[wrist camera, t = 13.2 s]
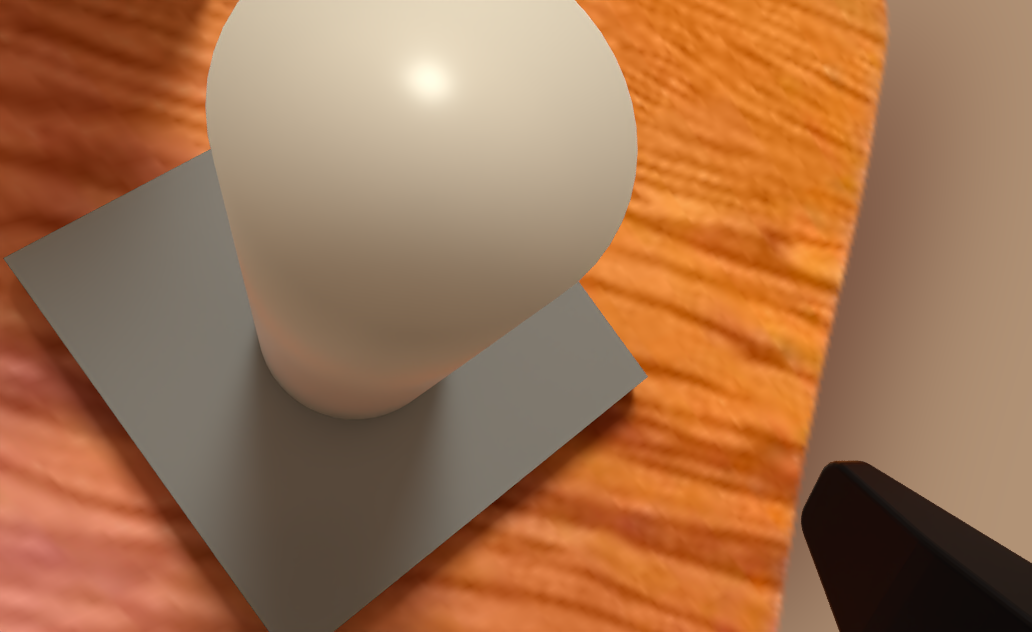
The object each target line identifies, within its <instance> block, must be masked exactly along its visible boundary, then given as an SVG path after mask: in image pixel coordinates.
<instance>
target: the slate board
mask: <svg viewBox="0 0 1032 632" xmlns="http://www.w3.org/2000/svg"><path fill="white" fill-rule="evenodd" d="M3 259H4V260H5V261H6V263H7V264H8V266H9V267H10V268H11V270H12V271H13V273H14V274H15V275H16V277H17V278H18V280H19V281H20V282H21V284H22V285H23V287H24V288H25V290H26V291H27V292H28V294H29V295H30V297H31V298H32V299H33V301H34V302H35V304H36V305H37V306H38V308H39V309H40V311H41V312H42V313H43V315H44V316H45V318H46V319H47V320H48V322H49V323H50V325H51V326H52V327H53V329H54V330H55V332H56V333H57V335H58V336H59V337H60V339H61V340H62V342H63V343H64V344H65V346H66V347H67V349H68V350H69V351H70V353H71V354H72V356H73V357H74V358H75V360H76V361H77V363H78V364H79V365H80V367H81V368H82V370H83V371H84V372H85V374H86V375H87V377H88V378H89V379H90V381H91V382H92V384H93V385H94V387H95V388H96V389H97V391H98V392H99V394H100V395H101V396H102V398H103V399H104V401H105V402H106V403H107V405H108V406H109V408H110V409H111V410H112V412H113V413H114V415H115V416H116V417H117V419H118V420H119V422H120V423H121V424H122V426H123V427H124V429H125V430H126V432H127V433H128V434H129V436H130V437H131V439H132V440H133V441H134V443H135V444H136V446H137V447H138V448H139V450H140V451H141V453H142V454H143V455H144V457H145V458H146V460H147V461H148V462H149V464H150V465H151V467H152V468H153V469H154V471H155V472H156V474H157V475H158V476H159V478H160V479H161V481H162V482H163V484H164V485H165V486H166V488H167V489H168V491H169V492H170V493H171V495H172V496H173V498H174V499H175V500H176V502H177V503H178V505H179V506H180V507H181V509H182V510H183V512H184V513H185V514H186V516H187V517H188V519H189V520H190V521H191V523H192V524H193V526H194V527H195V529H196V530H197V531H198V533H199V534H200V536H201V537H202V538H203V540H204V541H205V543H206V544H207V545H208V547H209V548H210V550H211V551H212V552H213V554H214V555H215V557H216V558H217V559H218V561H219V562H220V564H221V565H222V566H223V568H224V569H225V571H226V572H227V573H228V575H229V576H230V578H231V579H232V581H233V582H234V583H235V585H236V586H237V588H238V589H239V590H240V592H241V593H242V595H243V596H244V597H245V599H246V600H247V602H248V603H249V604H250V606H251V607H252V609H253V610H254V611H255V613H256V614H257V616H258V617H259V618H260V620H261V621H262V623H263V624H264V626H265V627H266V628H267V630H268V631H269V632H334V631H335V630H336V629H338V628H339V627H340V626H341V625H342V624H344V623H345V622H346V621H347V620H349V619H350V618H351V617H352V616H354V615H355V614H356V613H357V612H358V611H360V610H361V609H362V608H363V607H365V606H366V605H367V604H368V603H370V602H371V601H372V600H373V599H374V598H376V597H377V596H378V595H379V594H381V593H382V592H383V591H384V590H386V589H387V588H388V587H389V586H391V585H392V584H393V583H394V582H395V581H397V580H398V579H399V578H400V577H402V576H403V575H404V574H405V573H407V572H408V571H409V570H410V569H411V568H413V567H414V566H415V565H416V564H418V563H419V562H420V561H421V560H423V559H424V558H425V557H426V556H427V555H429V554H430V553H431V552H432V551H434V550H435V549H436V548H437V547H439V546H440V545H441V544H442V543H444V542H445V541H446V540H447V539H448V538H450V537H451V536H452V535H453V534H455V533H456V532H457V531H458V530H460V529H461V528H462V527H463V526H464V525H466V524H467V523H468V522H469V521H471V520H472V519H473V518H474V517H476V516H477V515H478V514H479V513H481V512H482V511H483V510H484V509H485V508H487V507H488V506H489V505H490V504H492V503H493V502H494V501H495V500H497V499H498V498H499V497H500V496H501V495H503V494H504V493H505V492H506V491H508V490H509V489H510V488H511V487H513V486H514V485H515V484H516V483H517V482H519V481H520V480H521V479H522V478H524V477H525V476H526V475H527V474H529V473H530V472H531V471H532V470H534V469H535V468H536V467H537V466H538V465H540V464H541V463H542V462H543V461H545V460H546V459H547V458H548V457H550V456H551V455H552V454H553V453H554V452H556V451H557V450H558V449H559V448H561V447H562V446H563V445H564V444H566V443H567V442H568V441H569V440H570V439H572V438H573V437H574V436H575V435H577V434H578V433H579V432H580V431H582V430H583V429H584V428H585V427H587V426H588V425H589V424H590V423H591V422H593V421H594V420H595V419H596V418H598V417H599V416H600V415H601V414H603V413H604V412H605V411H606V410H607V409H609V408H610V407H611V406H612V405H614V404H615V403H616V402H617V401H619V400H620V399H621V398H622V397H623V396H625V395H626V394H627V393H628V392H630V391H631V390H632V389H633V388H635V387H636V386H637V385H638V384H640V383H641V382H642V381H643V380H644V379H646V378H647V377H648V376H647V375H646V374H645V372H644V371H643V370H642V368H641V367H640V365H639V364H638V363H637V361H636V360H635V359H634V357H633V356H632V354H631V353H630V352H629V350H628V349H627V348H626V346H625V345H624V343H623V342H622V341H621V339H620V338H619V337H618V335H617V334H616V332H615V331H614V330H613V328H612V327H611V326H610V324H609V323H608V321H607V320H606V319H605V317H604V316H603V315H602V313H601V312H600V310H599V309H598V308H597V306H596V305H595V304H594V302H593V301H592V299H591V298H590V297H589V295H588V294H587V293H586V291H585V290H584V288H583V287H582V286H581V284H580V283H579V282H577V283H576V284H575V285H573V286H572V287H571V288H569V289H568V290H567V291H565V292H564V293H563V294H561V295H560V296H559V297H557V298H556V299H555V300H553V301H552V302H550V303H549V304H548V305H546V306H545V307H543V308H542V309H541V310H539V311H538V312H536V313H535V314H533V315H532V316H531V317H529V318H528V319H526V320H525V321H524V322H522V323H521V324H519V325H518V326H517V327H515V328H514V329H512V330H511V331H510V332H508V333H507V334H505V335H504V336H503V337H501V338H500V339H498V340H497V341H496V342H494V343H493V344H491V345H490V346H489V347H487V348H486V349H484V350H483V351H482V352H480V353H479V354H477V355H476V356H475V357H473V358H472V359H470V360H469V361H468V362H466V363H465V364H463V365H462V366H461V367H459V368H458V369H456V370H455V371H453V372H452V373H451V374H449V375H448V376H446V377H445V378H444V379H442V380H441V381H439V382H438V383H437V384H435V385H434V386H432V387H431V388H430V389H428V390H427V391H425V392H424V393H423V394H421V395H420V396H418V397H417V398H416V399H414V400H413V401H411V402H410V403H409V404H407V405H405V406H403V407H402V408H400V409H398V410H396V411H393V412H391V413H388V414H386V415H382V416H379V417H375V418H368V419H341V418H334V417H331V416H327V415H323V414H321V413H318V412H316V411H313V410H311V409H309V408H307V407H306V406H304V405H302V404H301V403H299V402H298V401H296V400H295V399H294V398H293V397H291V396H290V395H289V394H288V393H287V392H286V391H285V390H284V389H283V388H282V387H281V386H280V385H279V384H278V382H277V381H276V380H275V378H274V377H273V376H272V374H271V372H270V370H269V368H268V367H267V365H266V362H265V360H264V357H263V355H262V352H261V348H260V344H259V340H258V336H257V332H256V328H255V324H254V320H253V316H252V312H251V308H250V304H249V300H248V296H247V292H246V288H245V284H244V280H243V276H242V272H241V268H240V264H239V260H238V256H237V252H236V248H235V244H234V240H233V236H232V232H231V228H230V224H229V220H228V216H227V212H226V208H225V204H224V200H223V196H222V192H221V188H220V184H219V180H218V176H217V172H216V168H215V164H214V160H213V156H212V151H211V149H210V150H208V151H206V152H204V153H202V154H200V155H199V156H197V157H195V158H193V159H191V160H189V161H187V162H185V163H183V164H181V165H180V166H178V167H176V168H174V169H172V170H170V171H168V172H166V173H164V174H162V175H161V176H159V177H157V178H155V179H153V180H151V181H149V182H147V183H145V184H143V185H142V186H140V187H138V188H136V189H134V190H132V191H130V192H128V193H126V194H124V195H123V196H121V197H119V198H117V199H115V200H113V201H111V202H109V203H107V204H105V205H104V206H102V207H100V208H98V209H96V210H94V211H92V212H90V213H88V214H86V215H85V216H83V217H81V218H79V219H77V220H75V221H73V222H71V223H69V224H67V225H65V226H64V227H62V228H60V229H58V230H56V231H54V232H52V233H50V234H48V235H46V236H45V237H43V238H41V239H39V240H37V241H35V242H33V243H31V244H29V245H27V246H26V247H24V248H22V249H20V250H18V251H16V252H14V253H12V254H10V255H8V256H7V257H5V258H3Z"/></svg>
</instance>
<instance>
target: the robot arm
mask: <svg viewBox="0 0 1032 632" xmlns="http://www.w3.org/2000/svg"><path fill="white" fill-rule="evenodd" d="M801 525H802V531H803V534H804V537H805V539H806V542H807V545H808V548H809V550H810V553H811V556H812V558H813V561H814V564H815V566H816V569H817V572H818V574H819V577H820V580H821V583H822V585H823V588H824V591H825V594H826V596H827V599H828V602H829V604H830V607H831V610H832V612H833V615H834V618H835V621H836V623H837V626H838V629H839V631H840V632H1032V563H1030V562H1029V561H1027V560H1025V559H1024V558H1022V557H1021V556H1019V555H1017V554H1016V553H1014V552H1012V551H1011V550H1009V549H1007V548H1006V547H1004V546H1003V545H1001V544H999V543H998V542H996V541H994V540H993V539H991V538H989V537H988V536H986V535H984V534H983V533H981V532H979V531H978V530H976V529H975V528H973V527H971V526H970V525H968V524H966V523H965V522H963V521H962V520H960V519H958V518H957V517H955V516H953V515H952V514H950V513H948V512H947V511H945V510H943V509H942V508H940V507H939V506H937V505H935V504H934V503H932V502H930V501H929V500H927V499H925V498H924V497H922V496H921V495H919V494H917V493H916V492H914V491H912V490H911V489H909V488H908V487H906V486H904V485H903V484H901V483H899V482H898V481H896V480H894V479H893V478H891V477H890V476H888V475H886V474H885V473H883V472H881V471H880V470H878V469H876V468H875V467H873V466H871V465H870V464H868V463H865V462H863V461H834V462H830V463H829V464H828V465H826V466H825V467H824V469H823V470H822V472H821V474H820V476H819V478H818V480H817V482H816V484H815V486H814V488H813V490H812V492H811V494H810V496H809V498H808V500H807V502H806V504H805V506H804V508H803V511H802V516H801Z"/></svg>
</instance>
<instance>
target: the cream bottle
mask: <svg viewBox="0 0 1032 632" xmlns="http://www.w3.org/2000/svg"><path fill="white" fill-rule="evenodd" d="M206 119H207V131H208V138H209V143H210V147H211V151H212V156H213V160H214V164H215V168H216V172H217V176H218V180H219V184H220V188H221V192H222V196H223V200H224V204H225V208H226V212H227V216H228V220H229V224H230V228H231V232H232V236H233V240H234V244H235V248H236V252H237V256H238V260H239V264H240V268H241V272H242V276H243V280H244V284H245V288H246V292H247V296H248V300H249V304H250V308H251V312H252V316H253V320H254V324H255V328H256V332H257V336H258V340H259V344H260V348H261V352H262V355H263V357H264V360H265V362H266V365H267V367H268V368H269V370H270V372H271V374H272V376H273V377H274V378H275V380H276V381H277V382H278V384H279V385H280V386H281V387H282V388H283V389H284V390H285V391H286V392H287V393H288V394H289V395H290V396H291V397H293V398H294V399H295V400H296V401H298V402H299V403H301V404H302V405H304V406H306V407H307V408H309V409H311V410H313V411H316V412H318V413H321V414H323V415H327V416H331V417H334V418H341V419H368V418H375V417H379V416H382V415H386V414H388V413H391V412H393V411H396V410H398V409H400V408H402V407H403V406H405V405H407V404H409V403H410V402H411V401H413V400H414V399H416V398H417V397H418V396H420V395H421V394H423V393H424V392H425V391H427V390H428V389H430V388H431V387H432V386H434V385H435V384H437V383H438V382H439V381H441V380H442V379H444V378H445V377H446V376H448V375H449V374H451V373H452V372H453V371H455V370H456V369H458V368H459V367H461V366H462V365H463V364H465V363H466V362H468V361H469V360H470V359H472V358H473V357H475V356H476V355H477V354H479V353H480V352H482V351H483V350H484V349H486V348H487V347H489V346H490V345H491V344H493V343H494V342H496V341H497V340H498V339H500V338H501V337H503V336H504V335H505V334H507V333H508V332H510V331H511V330H512V329H514V328H515V327H517V326H518V325H519V324H521V323H522V322H524V321H525V320H526V319H528V318H529V317H531V316H532V315H533V314H535V313H536V312H538V311H539V310H541V309H542V308H543V307H545V306H546V305H548V304H549V303H550V302H552V301H553V300H555V299H556V298H557V297H559V296H560V295H561V294H563V293H564V292H565V291H567V290H568V289H569V288H571V287H572V286H573V285H575V284H576V283H577V282H578V281H579V280H580V279H581V278H582V277H583V276H584V275H585V274H586V273H587V272H588V271H589V270H590V269H591V268H592V267H593V266H594V265H595V264H596V263H597V261H598V260H599V259H600V257H601V256H602V255H603V253H604V252H605V250H606V249H607V248H608V246H609V245H610V244H611V242H612V240H613V238H614V236H615V234H616V232H617V231H618V229H619V227H620V225H621V223H622V221H623V218H624V215H625V213H626V210H627V207H628V204H629V202H630V199H631V194H632V190H633V185H634V180H635V176H636V164H637V131H636V122H635V117H634V111H633V106H632V101H631V98H630V94H629V91H628V88H627V85H626V81H625V78H624V76H623V74H622V71H621V69H620V67H619V65H618V62H617V60H616V58H615V56H614V54H613V52H612V50H611V49H610V47H609V45H608V44H607V42H606V40H605V38H604V37H603V35H602V33H601V32H600V31H599V29H598V28H597V27H596V25H595V24H594V23H593V21H592V20H591V19H590V17H589V16H588V15H587V13H586V12H585V11H584V10H583V9H582V8H581V7H580V6H579V4H578V3H577V2H576V1H575V0H240V1H239V2H238V3H237V5H236V6H235V8H234V10H233V11H232V13H231V15H230V17H229V18H228V20H227V22H226V23H225V25H224V27H223V29H222V32H221V34H220V37H219V39H218V42H217V44H216V47H215V49H214V52H213V57H212V61H211V65H210V70H209V74H208V79H207V93H206Z"/></svg>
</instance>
